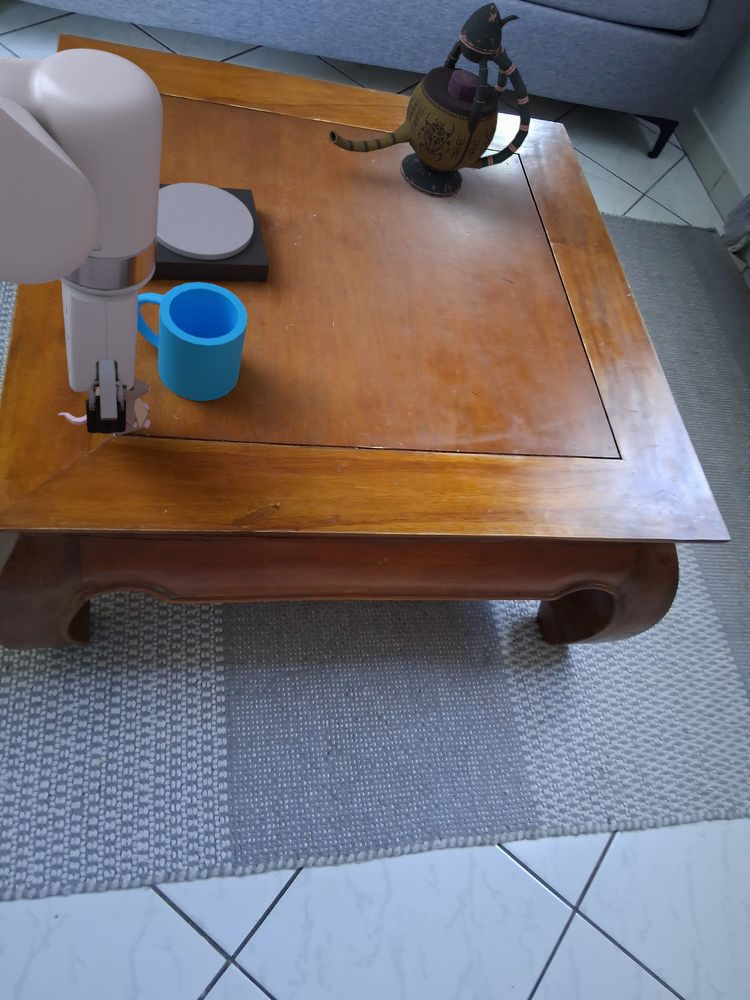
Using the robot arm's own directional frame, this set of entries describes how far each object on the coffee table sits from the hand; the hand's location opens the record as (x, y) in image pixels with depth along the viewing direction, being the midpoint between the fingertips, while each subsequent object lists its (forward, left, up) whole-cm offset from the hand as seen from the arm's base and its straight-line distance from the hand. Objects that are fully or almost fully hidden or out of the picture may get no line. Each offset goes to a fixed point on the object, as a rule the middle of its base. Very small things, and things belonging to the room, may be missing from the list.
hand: (104, 403), depth 69 cm
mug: (+8, +9, -4) cm, 13 cm away
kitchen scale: (+11, +27, -4) cm, 29 cm away
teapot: (+42, +42, -4) cm, 60 cm away
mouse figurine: (0, 0, -2) cm, 2 cm away
